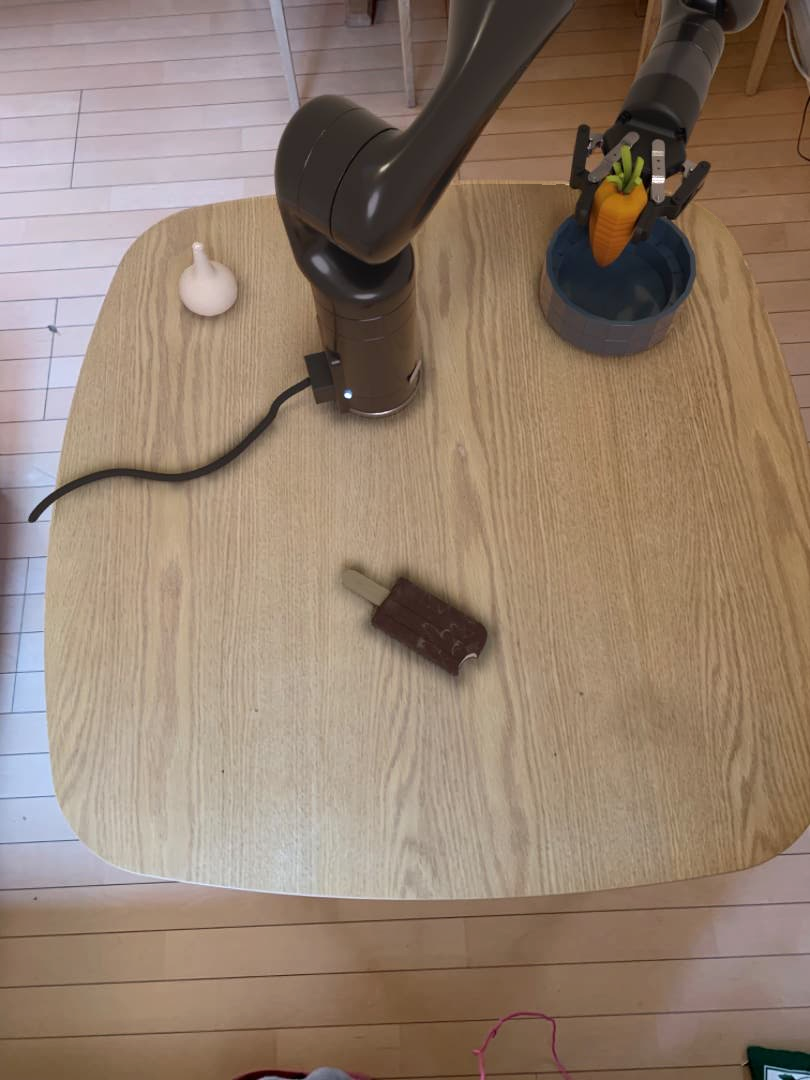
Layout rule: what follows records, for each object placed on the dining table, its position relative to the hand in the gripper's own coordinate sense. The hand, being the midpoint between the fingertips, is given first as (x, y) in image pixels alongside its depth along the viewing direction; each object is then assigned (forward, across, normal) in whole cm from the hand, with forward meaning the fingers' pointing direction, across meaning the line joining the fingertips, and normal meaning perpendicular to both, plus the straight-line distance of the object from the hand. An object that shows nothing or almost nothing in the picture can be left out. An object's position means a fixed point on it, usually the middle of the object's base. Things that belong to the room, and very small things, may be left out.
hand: (608, 229), depth 81 cm
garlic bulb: (+15, -38, +12) cm, 43 cm away
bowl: (-1, +2, +12) cm, 12 cm away
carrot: (-3, 0, +9) cm, 9 cm away
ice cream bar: (+40, -4, +12) cm, 42 cm away
